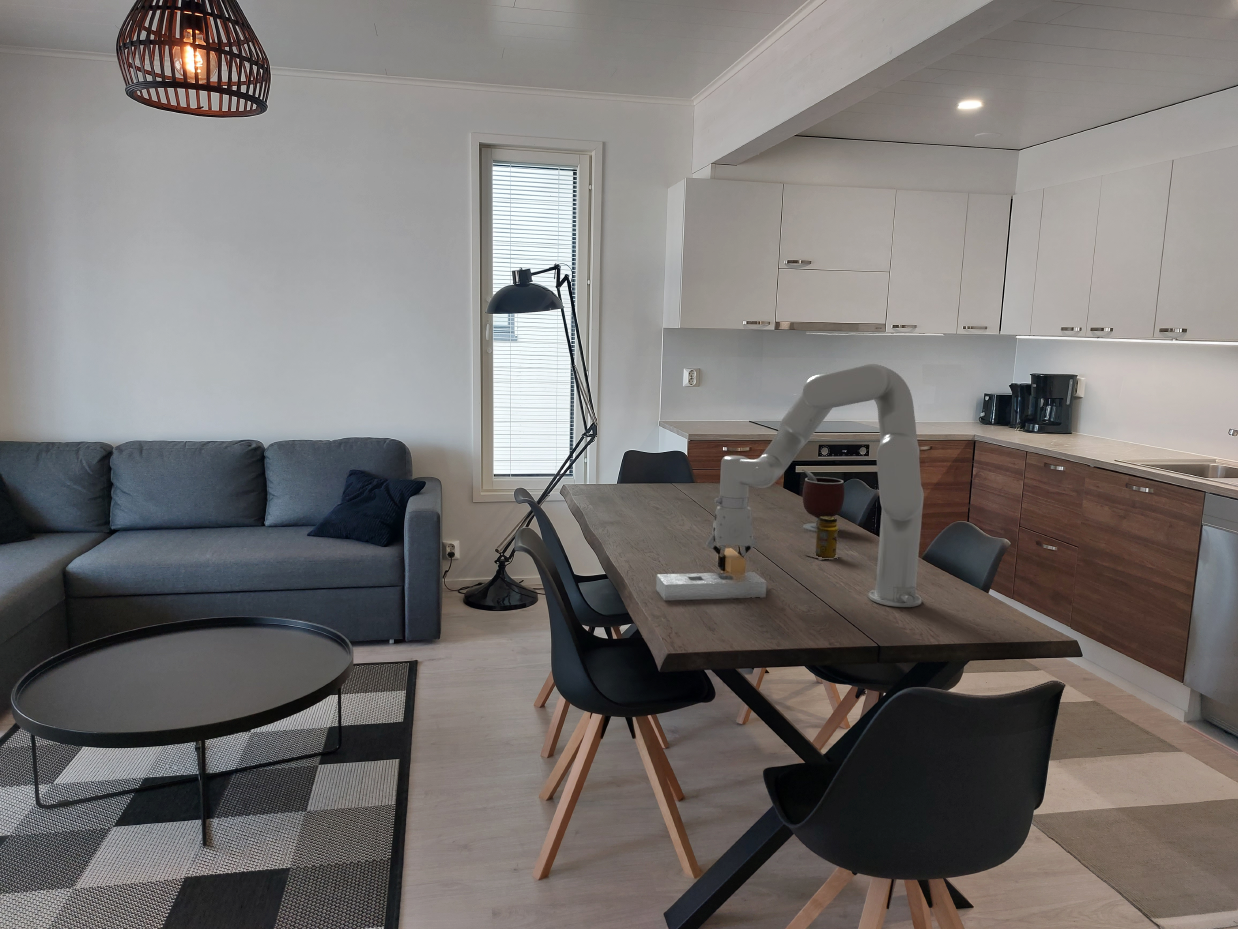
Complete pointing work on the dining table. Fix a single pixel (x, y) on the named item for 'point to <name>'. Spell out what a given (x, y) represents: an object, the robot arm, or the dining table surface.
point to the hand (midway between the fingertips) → (730, 569)
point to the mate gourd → (822, 497)
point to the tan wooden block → (733, 561)
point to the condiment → (826, 537)
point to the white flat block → (710, 586)
